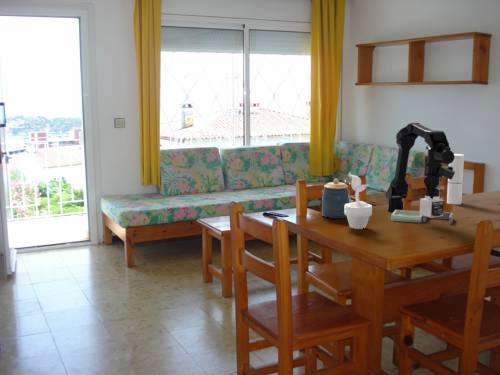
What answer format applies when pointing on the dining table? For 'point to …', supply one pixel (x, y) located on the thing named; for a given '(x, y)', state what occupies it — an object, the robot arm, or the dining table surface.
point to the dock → (442, 217)
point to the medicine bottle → (432, 205)
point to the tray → (407, 216)
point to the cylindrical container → (456, 181)
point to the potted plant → (357, 206)
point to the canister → (335, 199)
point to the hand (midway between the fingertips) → (432, 197)
